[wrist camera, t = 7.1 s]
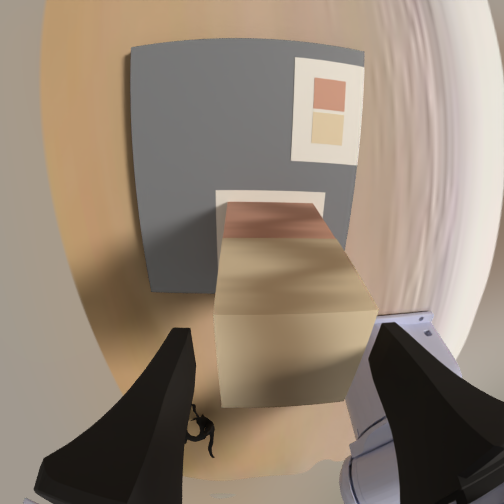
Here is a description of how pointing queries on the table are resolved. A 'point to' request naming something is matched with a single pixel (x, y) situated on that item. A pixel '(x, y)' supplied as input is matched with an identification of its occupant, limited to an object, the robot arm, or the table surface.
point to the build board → (237, 142)
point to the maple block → (288, 322)
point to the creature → (202, 430)
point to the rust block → (274, 221)
